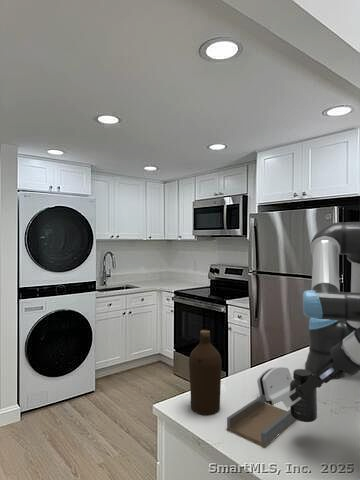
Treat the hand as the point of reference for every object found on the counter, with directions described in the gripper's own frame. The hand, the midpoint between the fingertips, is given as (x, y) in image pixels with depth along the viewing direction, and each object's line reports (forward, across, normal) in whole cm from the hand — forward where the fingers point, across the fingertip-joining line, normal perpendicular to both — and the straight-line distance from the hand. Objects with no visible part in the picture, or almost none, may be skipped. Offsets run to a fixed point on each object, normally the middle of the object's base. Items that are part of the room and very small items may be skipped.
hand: (290, 398), depth 93 cm
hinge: (+18, +21, +3) cm, 28 cm away
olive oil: (+27, -4, +12) cm, 30 cm away
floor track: (+13, 0, -1) cm, 13 cm away
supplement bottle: (0, 0, -5) cm, 5 cm away
